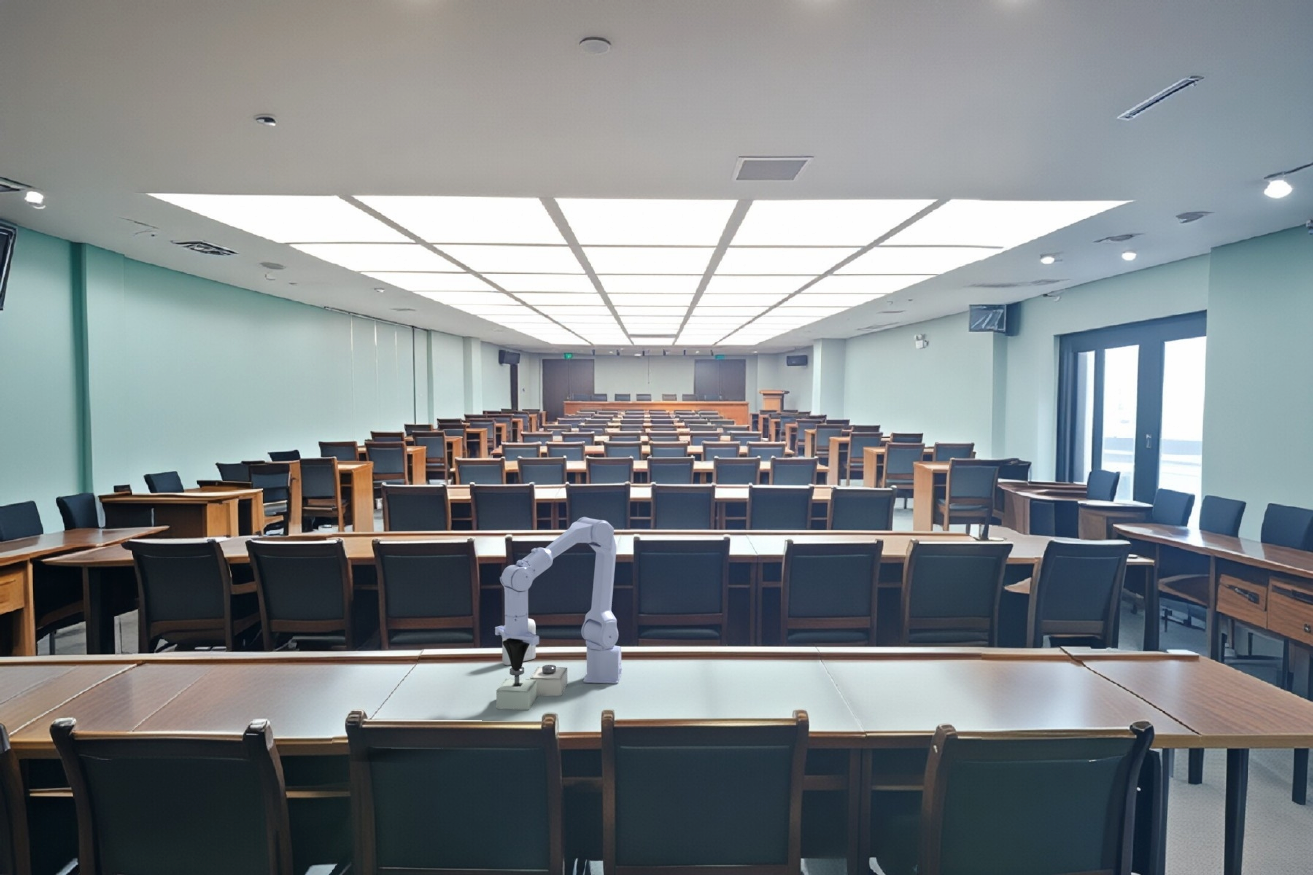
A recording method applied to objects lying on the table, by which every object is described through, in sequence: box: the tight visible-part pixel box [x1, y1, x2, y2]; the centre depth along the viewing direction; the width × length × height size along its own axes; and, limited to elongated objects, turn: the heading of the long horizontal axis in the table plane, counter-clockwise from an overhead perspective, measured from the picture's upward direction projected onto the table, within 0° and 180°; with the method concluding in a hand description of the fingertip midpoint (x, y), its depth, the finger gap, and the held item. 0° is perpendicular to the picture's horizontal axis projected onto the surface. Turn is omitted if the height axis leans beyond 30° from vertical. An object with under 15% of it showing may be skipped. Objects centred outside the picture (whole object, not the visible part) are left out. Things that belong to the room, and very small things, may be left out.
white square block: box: [529, 666, 568, 697], centre depth 180 cm, size 8×8×4 cm
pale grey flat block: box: [495, 678, 538, 711], centre depth 172 cm, size 8×8×4 cm
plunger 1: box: [509, 666, 525, 687], centre depth 172 cm, size 5×5×5 cm
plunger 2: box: [541, 664, 557, 674], centre depth 180 cm, size 5×5×5 cm
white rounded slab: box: [501, 618, 537, 666], centre depth 202 cm, size 10×4×12 cm, turn 134°
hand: (516, 668), depth 172 cm, fingers closed
